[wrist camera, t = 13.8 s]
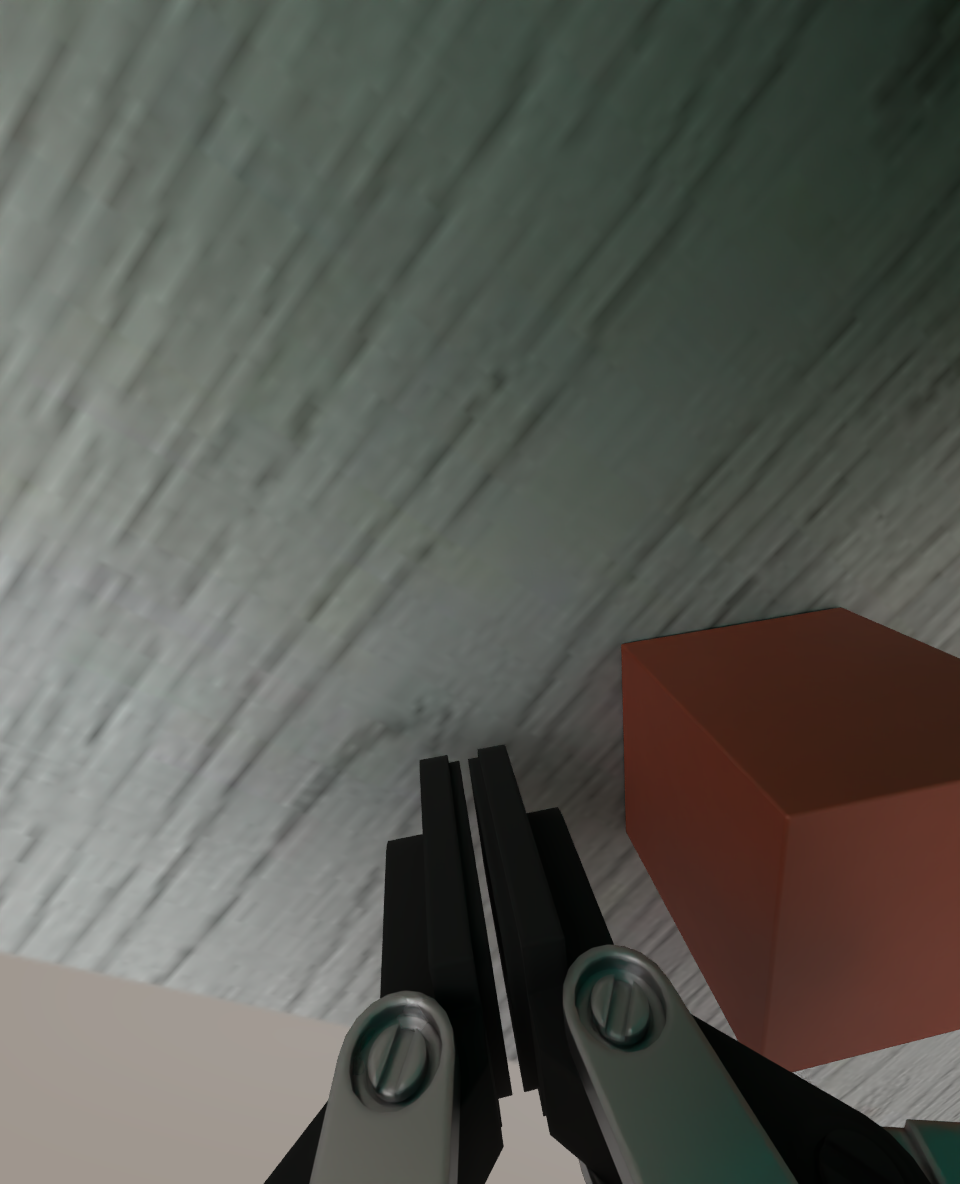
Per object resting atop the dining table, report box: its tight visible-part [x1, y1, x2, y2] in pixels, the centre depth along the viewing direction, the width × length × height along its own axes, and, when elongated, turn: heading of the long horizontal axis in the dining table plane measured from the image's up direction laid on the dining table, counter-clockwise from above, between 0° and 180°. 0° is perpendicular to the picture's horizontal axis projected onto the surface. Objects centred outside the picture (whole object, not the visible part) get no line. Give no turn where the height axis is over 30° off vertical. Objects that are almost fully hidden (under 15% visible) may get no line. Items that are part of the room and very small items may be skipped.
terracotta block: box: [621, 607, 960, 1072], centre depth 9 cm, size 5×5×5 cm
